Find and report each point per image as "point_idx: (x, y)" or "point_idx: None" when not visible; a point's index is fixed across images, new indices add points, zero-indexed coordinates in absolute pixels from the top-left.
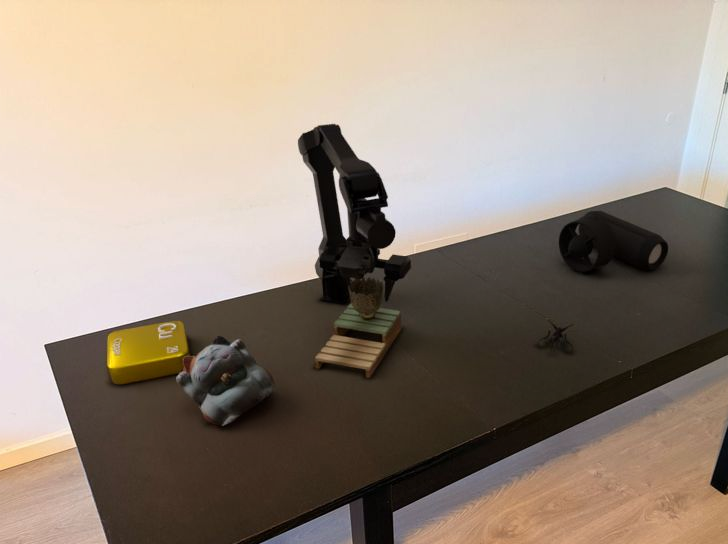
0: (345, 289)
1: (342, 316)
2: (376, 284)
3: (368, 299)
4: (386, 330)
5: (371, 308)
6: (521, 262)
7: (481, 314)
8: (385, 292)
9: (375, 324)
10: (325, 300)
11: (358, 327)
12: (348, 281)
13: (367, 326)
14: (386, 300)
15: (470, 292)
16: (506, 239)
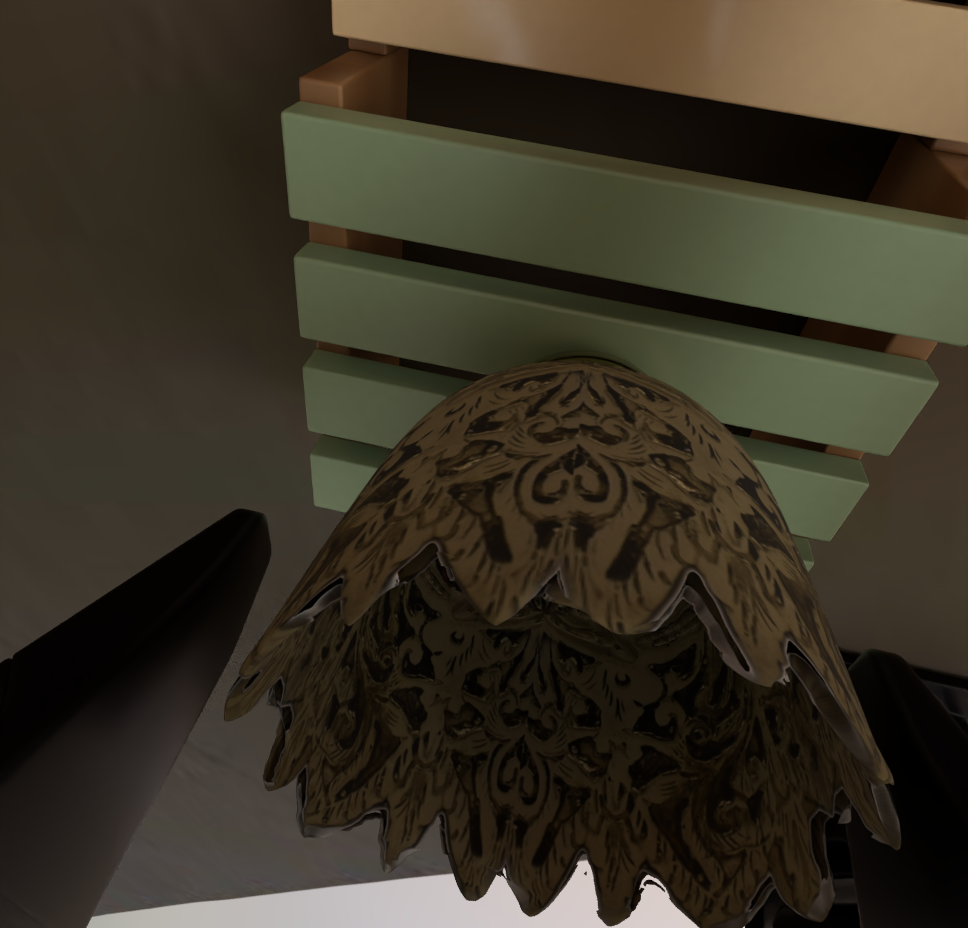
0: (924, 758)
1: (883, 409)
2: (438, 789)
3: (436, 499)
4: (289, 148)
5: (451, 402)
6: None
7: (35, 544)
8: (135, 631)
9: (466, 283)
10: (954, 682)
11: (662, 181)
12: (864, 900)
13: (544, 216)
14: (229, 522)
15: None
16: (234, 876)
